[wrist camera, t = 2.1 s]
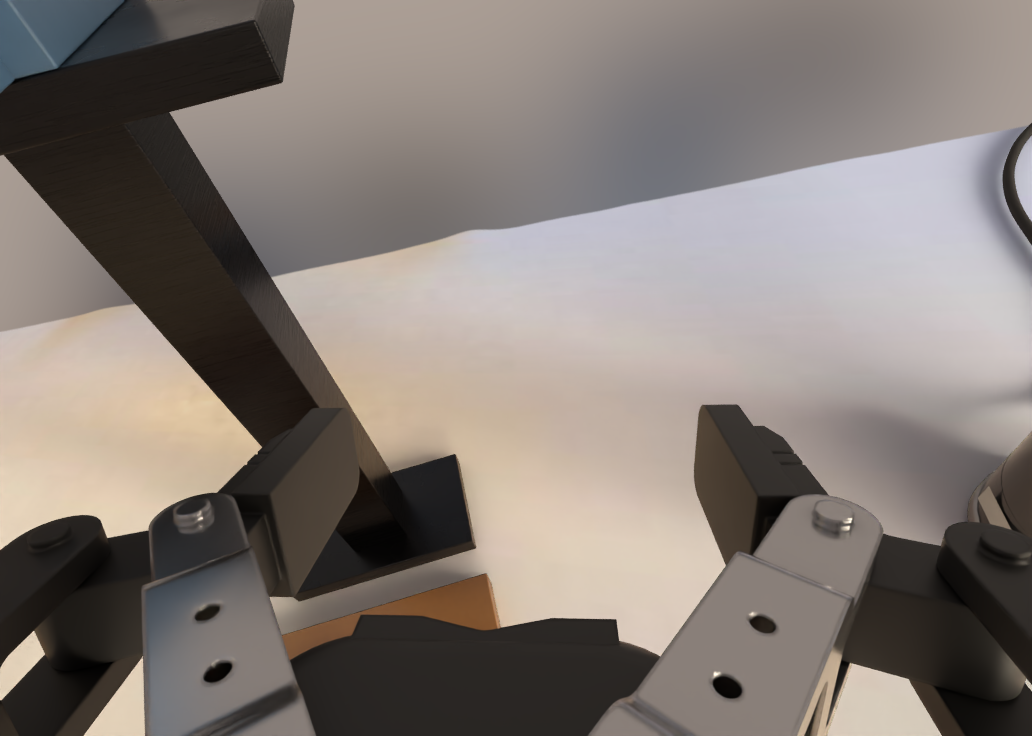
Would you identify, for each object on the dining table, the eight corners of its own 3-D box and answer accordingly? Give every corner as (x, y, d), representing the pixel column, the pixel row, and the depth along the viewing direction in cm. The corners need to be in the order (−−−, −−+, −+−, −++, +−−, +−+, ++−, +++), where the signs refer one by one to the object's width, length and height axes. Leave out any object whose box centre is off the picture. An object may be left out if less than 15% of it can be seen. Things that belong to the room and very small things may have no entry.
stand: (492, 551, 36) (255, 19, 14) (283, 614, 36) (-335, 168, 13) (470, 453, 42) (275, -44, 19) (289, 506, 41) (-139, 59, 18)
